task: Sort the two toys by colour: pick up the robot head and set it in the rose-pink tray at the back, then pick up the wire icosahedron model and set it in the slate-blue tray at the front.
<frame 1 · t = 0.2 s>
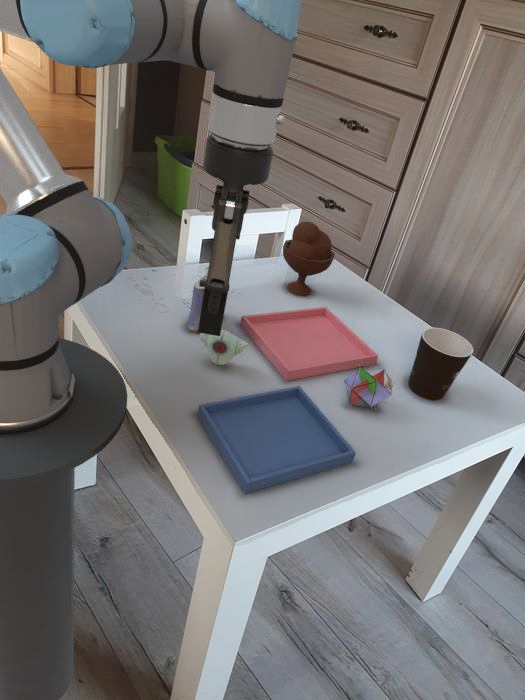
hand: (213, 305, 72), 17 cm above the table, tool pointing down, fingers open, 13 cm apart
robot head: (217, 366, 90), on the table
blue tray: (273, 438, 78), on the table
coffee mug: (431, 387, 97), on the table
flask: (203, 322, 100), on the table
wire icosahedron model: (361, 403, 89), on the table
rose tray: (306, 344, 100), on the table
ice cream bowl: (298, 290, 118), on the table
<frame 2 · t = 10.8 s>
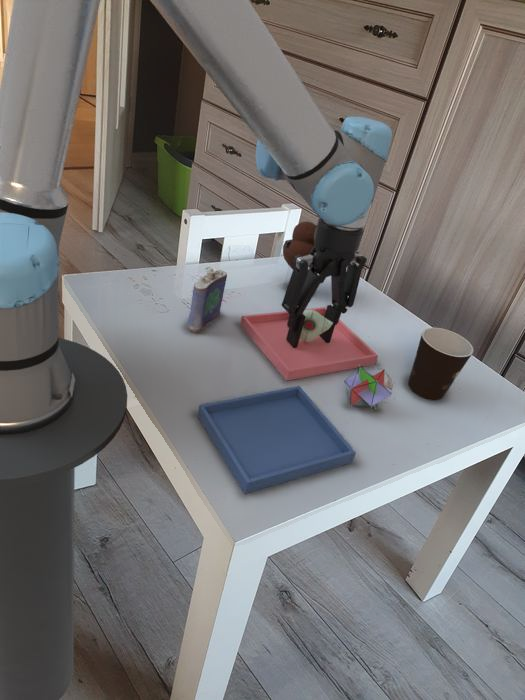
hand: (308, 340, 100), 1 cm above the table, tool pointing down, fingers closed on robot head, 7 cm apart
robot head: (304, 343, 100), resting on rose tray, touching gripper
everything else where it was.
when the fingers open (1 cm above the table, at t = 11.0 s): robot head stays where it is, resting on rose tray.
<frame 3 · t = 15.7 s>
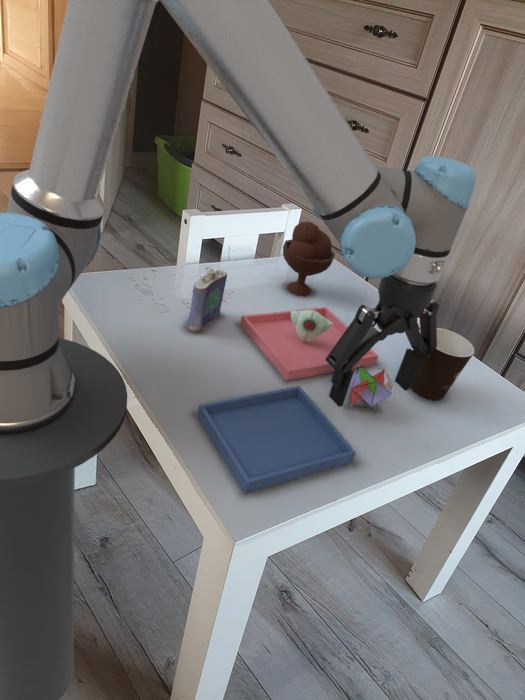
hand: (369, 393, 88), 2 cm above the table, tool pointing down, fingers open, 13 cm apart
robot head: (304, 343, 100), resting on rose tray
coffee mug: (431, 388, 97), on the table, touching gripper, hand
everything else where it was.
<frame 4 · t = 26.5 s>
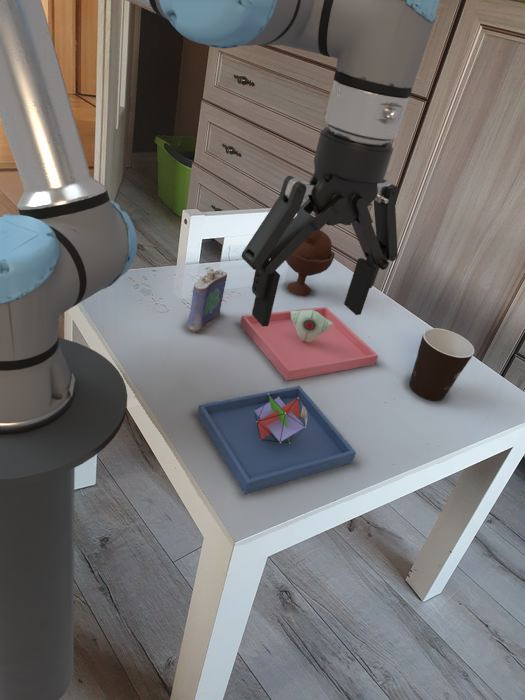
hand: (308, 314, 66), 21 cm above the table, tool pointing down, fingers open, 13 cm apart
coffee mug: (432, 388, 97), on the table
wire icosahedron model: (274, 436, 78), resting on blue tray
everything else where it was.
at the end: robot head inside the target area in the rose tray (0.6 cm from its centre), point 0.3 cm above the rose tray's base; wire icosahedron model inside the target area in the blue tray (0.1 cm from its centre), point 0.3 cm above the blue tray's base; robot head tilted 0° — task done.
